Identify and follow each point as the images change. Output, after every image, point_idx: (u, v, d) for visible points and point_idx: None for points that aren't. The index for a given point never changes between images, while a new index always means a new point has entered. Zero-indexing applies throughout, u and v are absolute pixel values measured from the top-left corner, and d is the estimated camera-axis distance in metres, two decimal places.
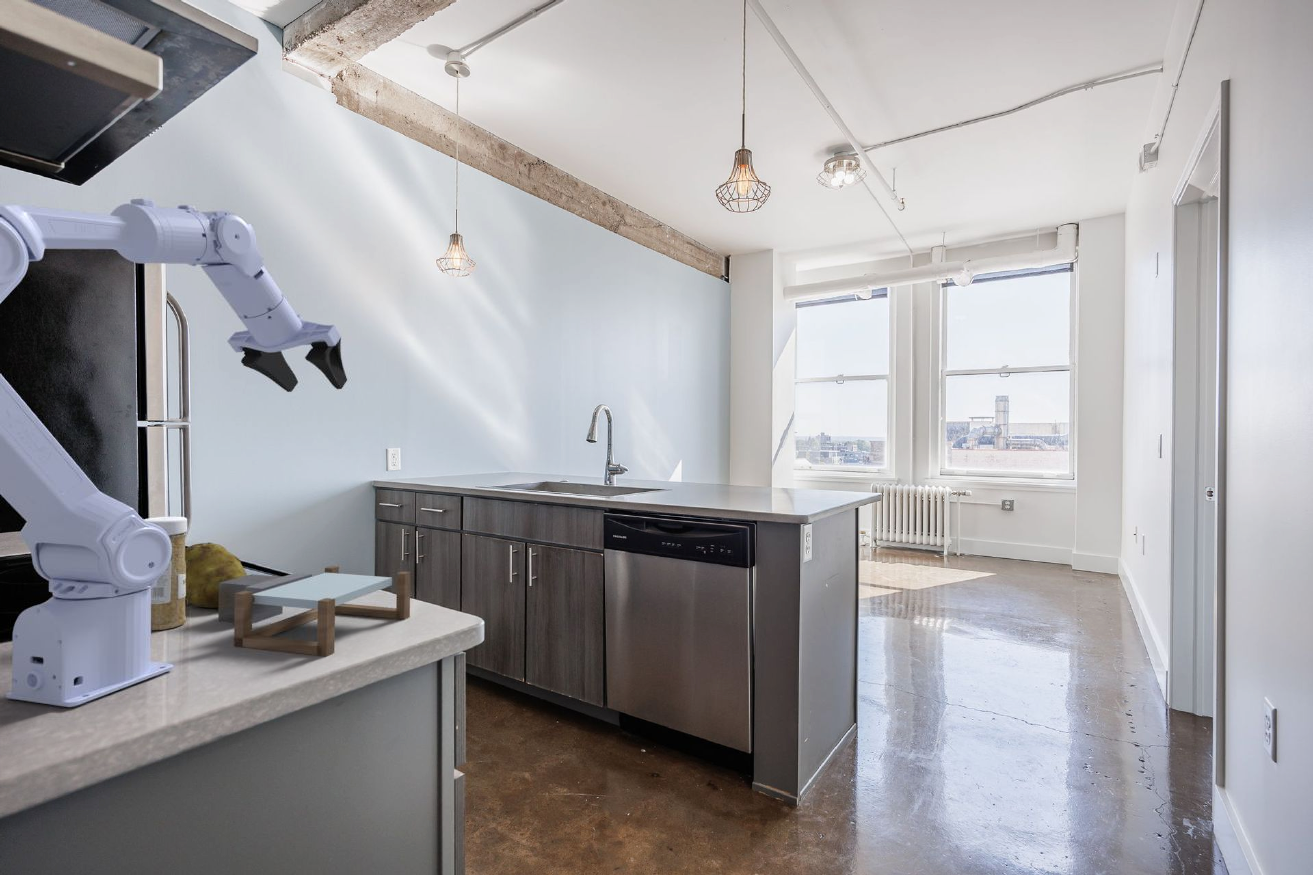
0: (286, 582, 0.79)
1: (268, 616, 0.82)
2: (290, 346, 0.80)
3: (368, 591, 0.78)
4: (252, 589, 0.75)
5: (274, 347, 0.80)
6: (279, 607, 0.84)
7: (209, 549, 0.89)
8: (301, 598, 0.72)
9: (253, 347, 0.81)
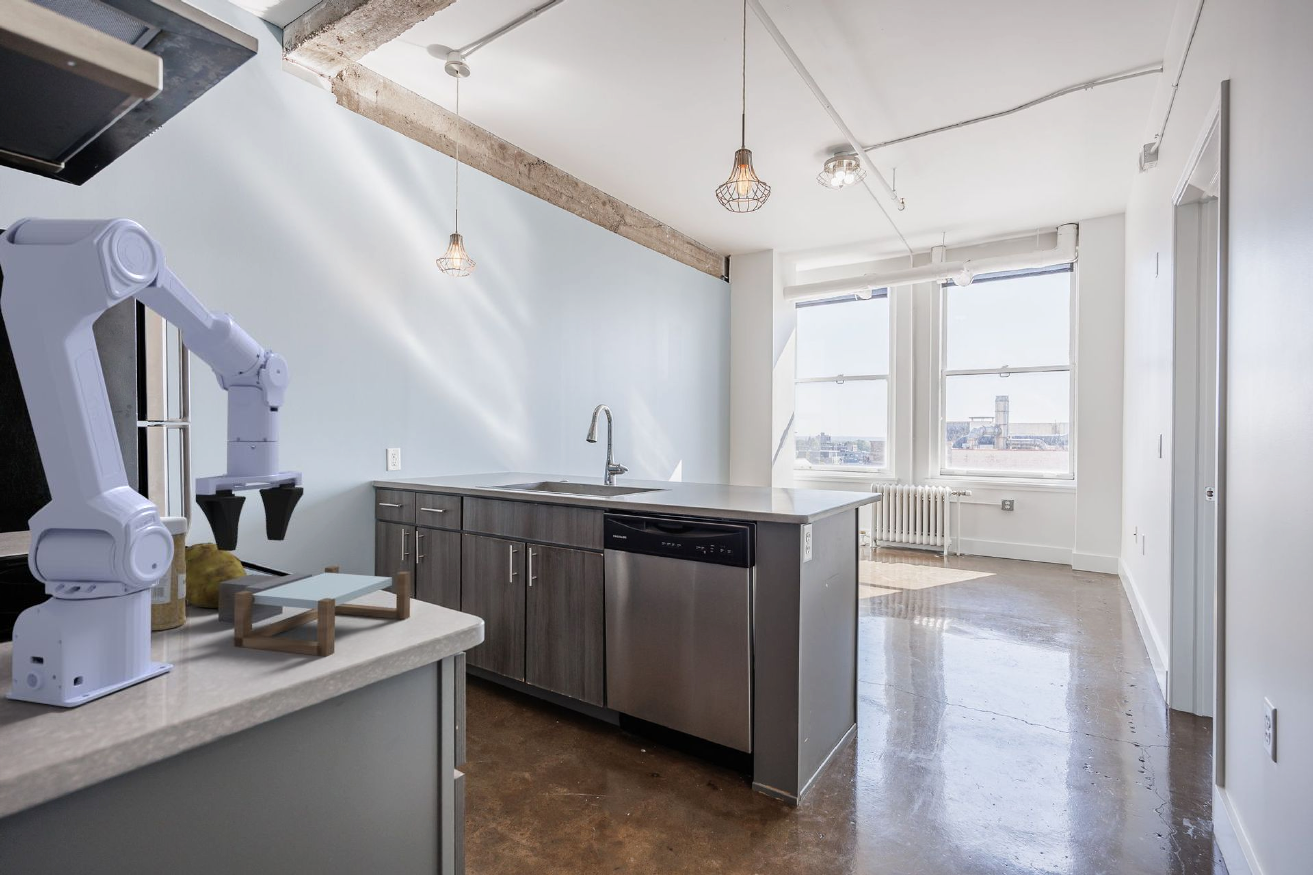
0: (286, 582, 0.79)
1: (268, 616, 0.82)
2: (282, 477, 0.84)
3: (368, 591, 0.78)
4: (252, 589, 0.75)
5: (276, 475, 0.83)
6: (279, 607, 0.84)
7: (210, 549, 0.89)
8: (301, 598, 0.72)
9: (247, 480, 0.79)
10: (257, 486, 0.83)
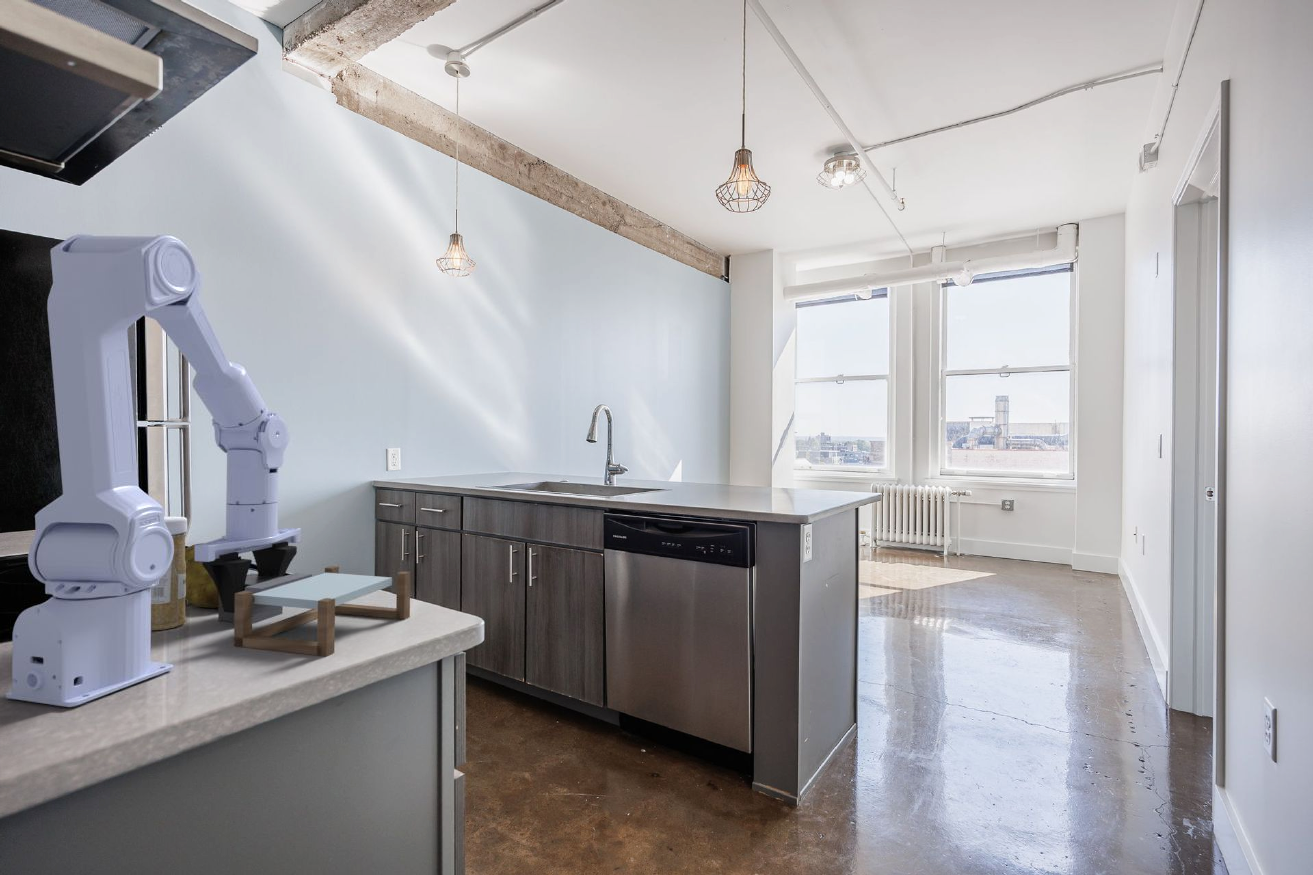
0: (286, 582, 0.79)
1: (268, 615, 0.82)
2: (282, 537, 0.84)
3: (368, 591, 0.78)
4: (252, 589, 0.75)
5: (275, 537, 0.83)
6: (279, 606, 0.84)
7: None
8: (301, 598, 0.72)
9: (247, 543, 0.79)
10: (256, 547, 0.83)
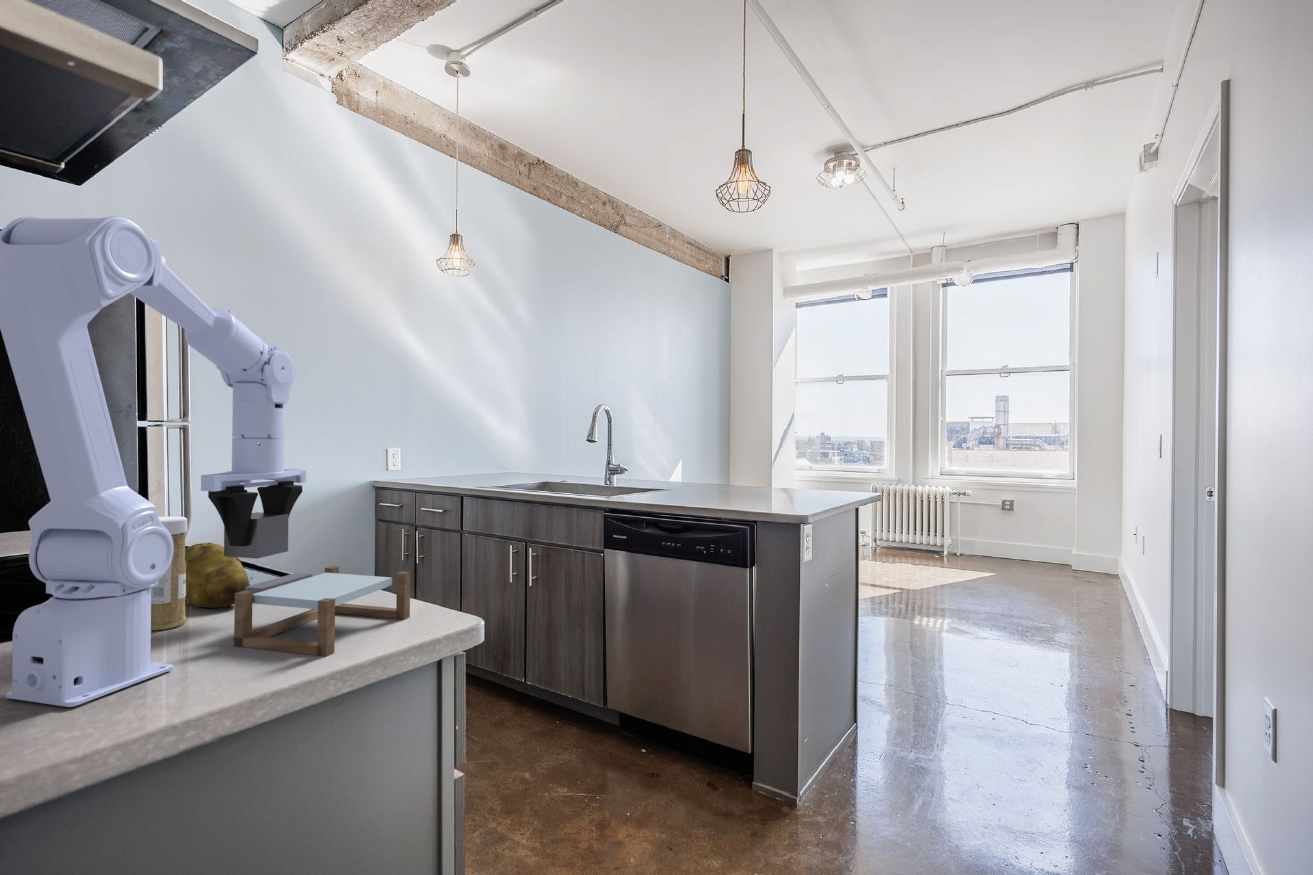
0: (286, 582, 0.79)
1: (274, 551, 0.82)
2: (287, 474, 0.84)
3: (368, 591, 0.78)
4: (252, 589, 0.75)
5: (281, 472, 0.82)
6: (285, 544, 0.84)
7: (210, 549, 0.89)
8: (301, 598, 0.72)
9: (253, 476, 0.79)
10: (262, 483, 0.83)
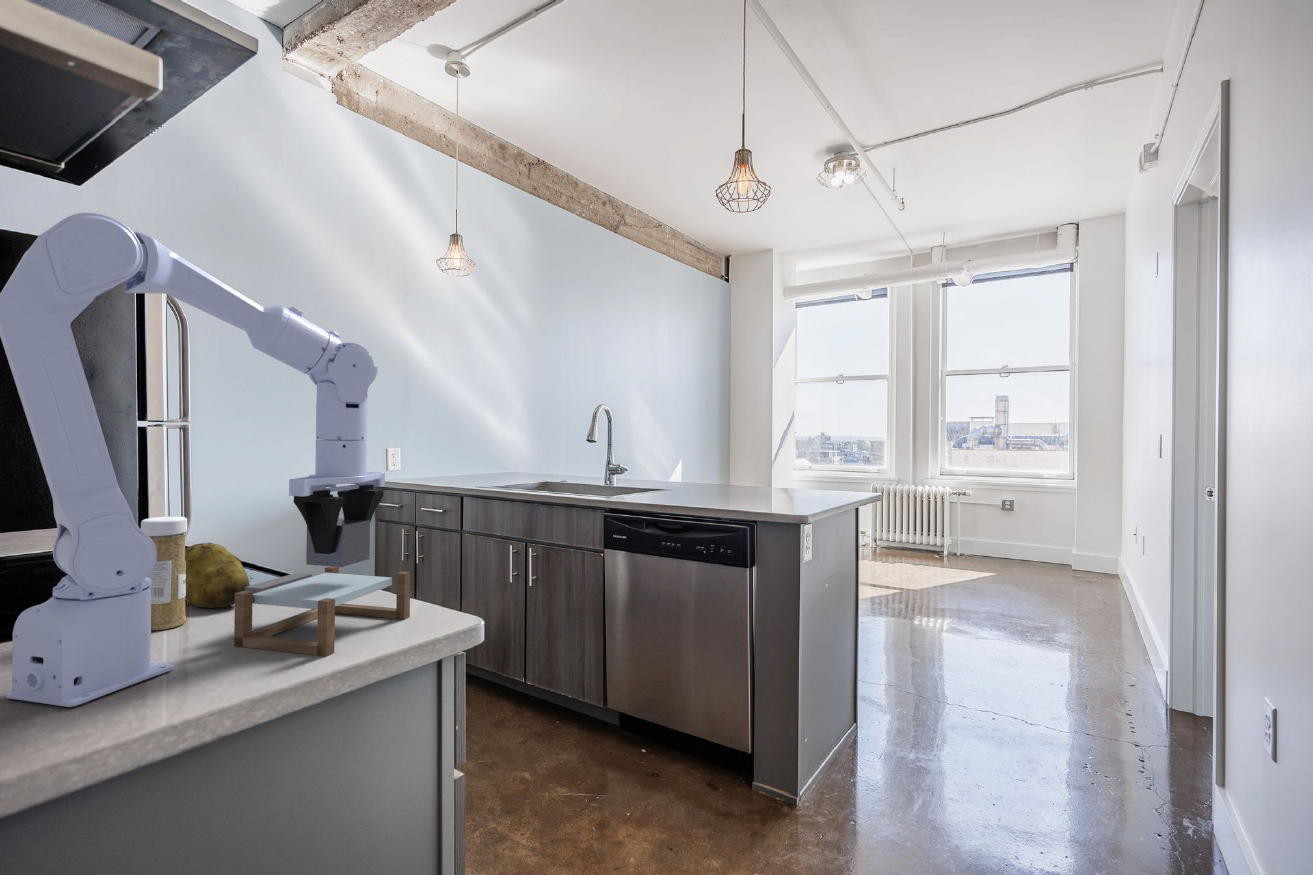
0: (286, 582, 0.79)
1: (357, 559, 0.78)
2: (370, 478, 0.80)
3: (368, 591, 0.78)
4: (252, 589, 0.75)
5: (365, 476, 0.79)
6: (366, 551, 0.80)
7: (210, 549, 0.89)
8: (301, 598, 0.72)
9: (339, 480, 0.75)
10: (345, 487, 0.79)
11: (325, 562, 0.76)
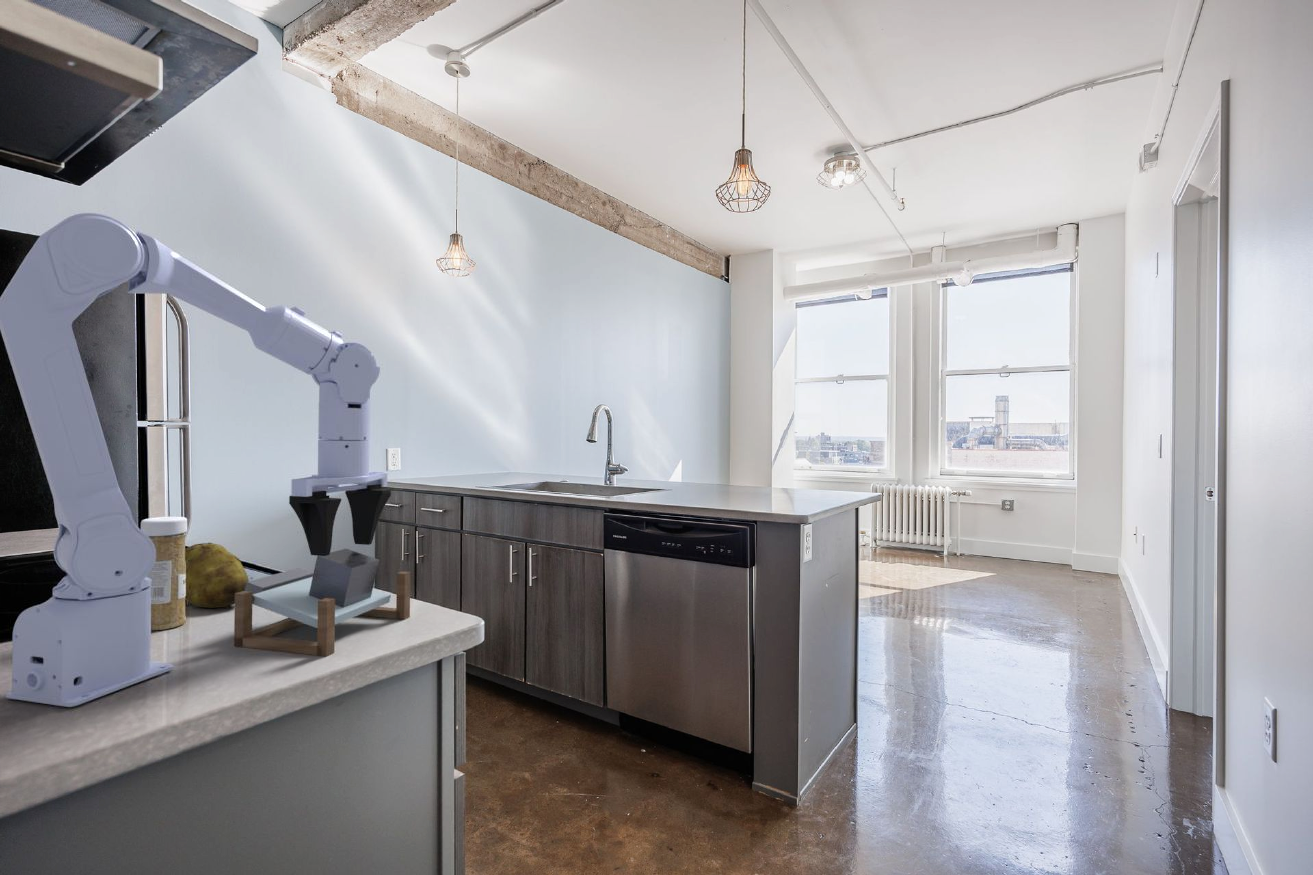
0: (287, 581, 0.79)
1: (359, 599, 0.78)
2: (373, 478, 0.80)
3: (366, 609, 0.78)
4: (253, 586, 0.75)
5: (368, 476, 0.78)
6: (369, 590, 0.80)
7: (210, 549, 0.89)
8: (300, 611, 0.72)
9: (342, 481, 0.75)
10: (347, 487, 0.79)
11: None
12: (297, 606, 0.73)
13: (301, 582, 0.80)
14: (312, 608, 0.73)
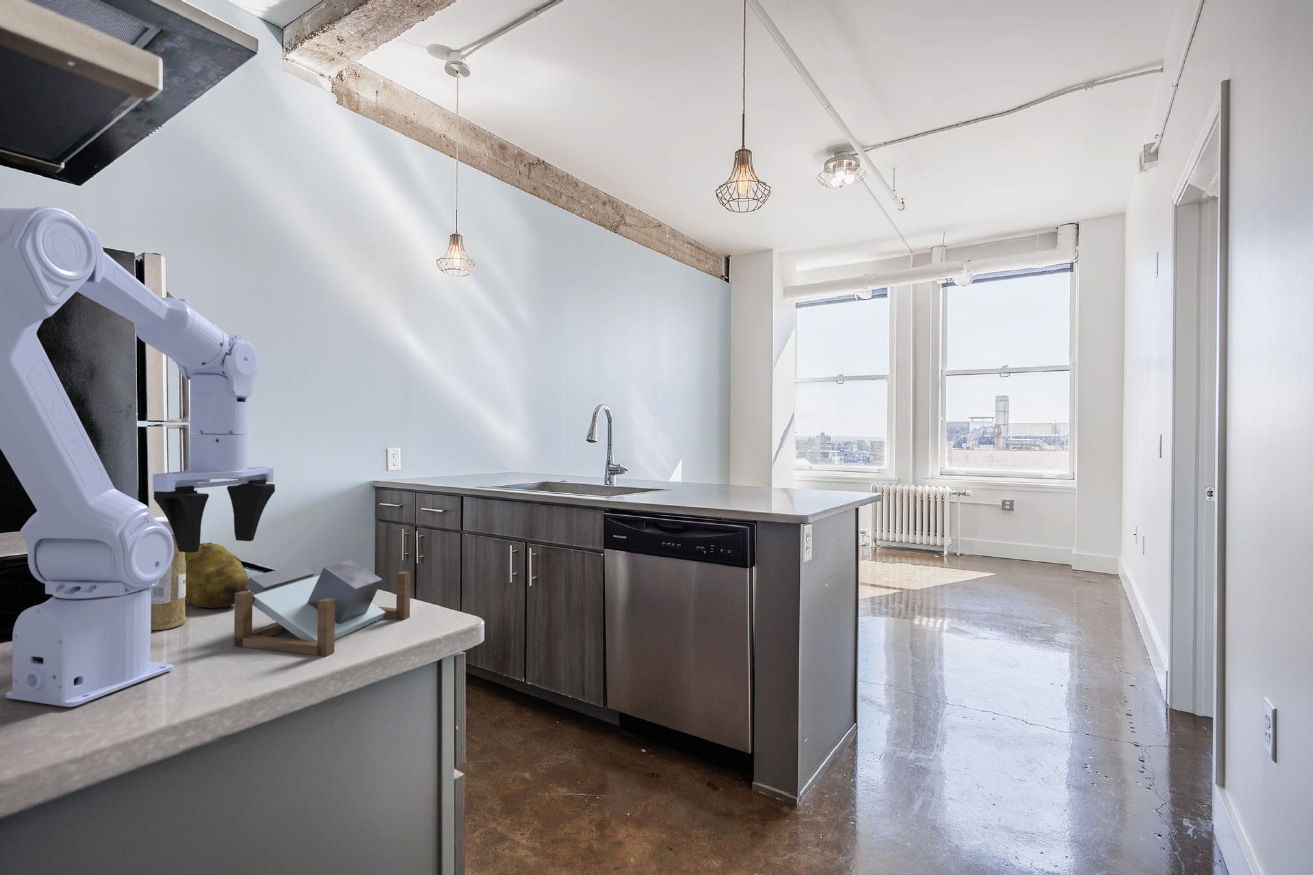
0: (288, 581, 0.79)
1: (355, 615, 0.78)
2: (251, 473, 0.78)
3: (359, 627, 0.78)
4: (255, 583, 0.75)
5: (244, 471, 0.77)
6: (366, 607, 0.80)
7: (210, 549, 0.89)
8: (297, 624, 0.72)
9: (211, 475, 0.73)
10: (223, 482, 0.77)
11: None
12: (294, 617, 0.73)
13: (301, 583, 0.80)
14: (308, 621, 0.74)
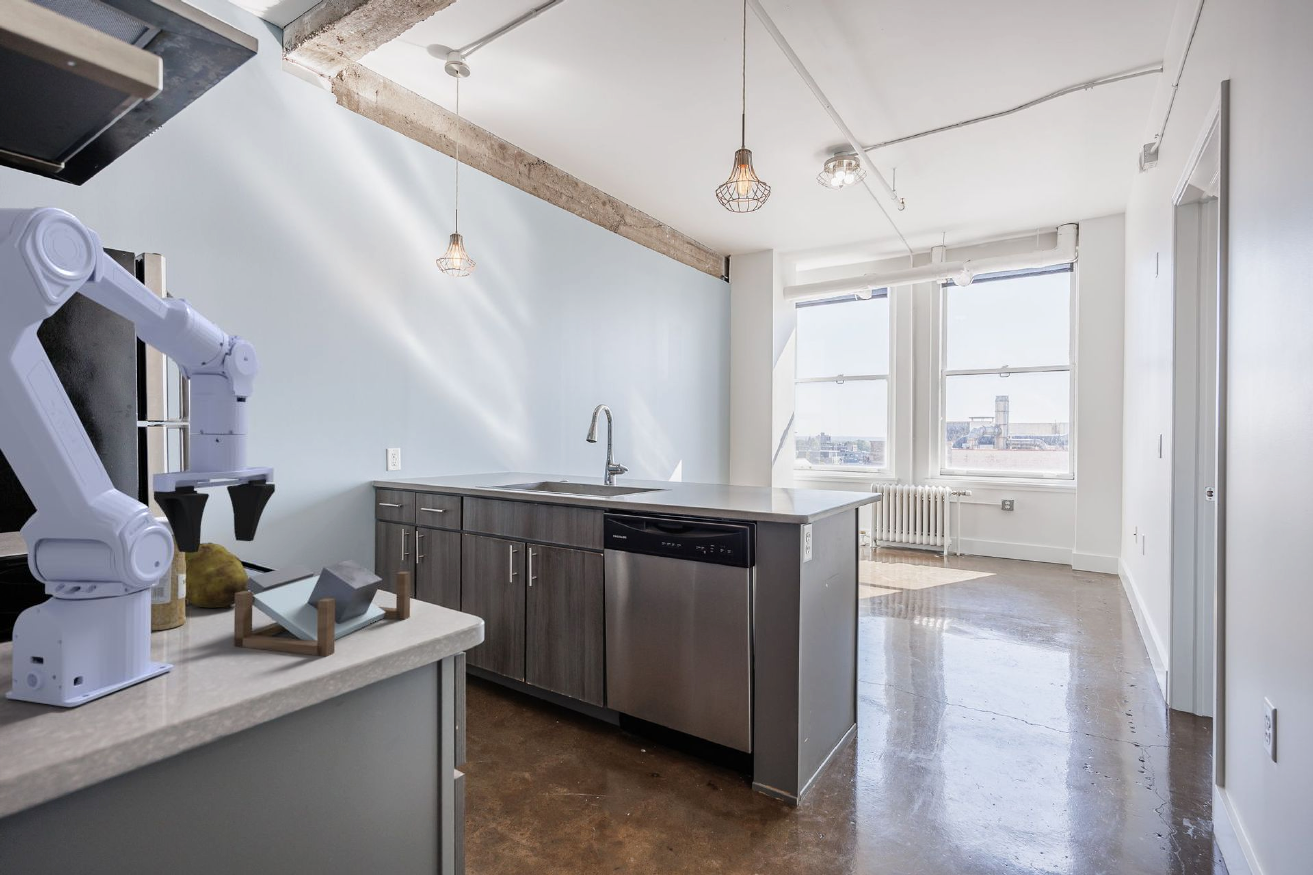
0: (288, 581, 0.79)
1: (355, 615, 0.78)
2: (251, 473, 0.78)
3: (359, 627, 0.78)
4: (255, 583, 0.75)
5: (244, 471, 0.77)
6: (366, 607, 0.80)
7: (210, 549, 0.89)
8: (297, 624, 0.72)
9: (211, 475, 0.73)
10: (223, 482, 0.77)
11: None
12: (294, 617, 0.73)
13: (301, 583, 0.80)
14: (308, 621, 0.74)
